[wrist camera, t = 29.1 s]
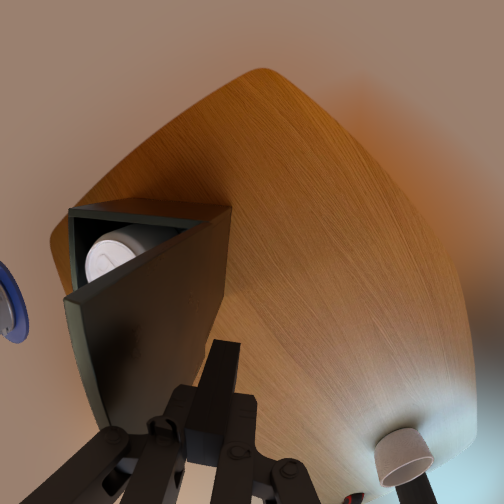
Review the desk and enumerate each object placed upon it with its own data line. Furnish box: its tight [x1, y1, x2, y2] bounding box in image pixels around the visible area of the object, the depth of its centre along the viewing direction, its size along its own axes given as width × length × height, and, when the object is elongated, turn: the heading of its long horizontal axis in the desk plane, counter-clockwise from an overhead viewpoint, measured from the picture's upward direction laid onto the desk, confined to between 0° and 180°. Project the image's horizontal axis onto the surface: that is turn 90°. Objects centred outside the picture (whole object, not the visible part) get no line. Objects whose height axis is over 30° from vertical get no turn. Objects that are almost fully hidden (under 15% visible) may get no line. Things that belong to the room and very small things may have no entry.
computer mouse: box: [343, 493, 364, 504], centre depth 52 cm, size 6×11×4 cm, turn 1°
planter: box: [374, 428, 434, 487], centre depth 40 cm, size 12×12×11 cm
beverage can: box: [85, 223, 179, 283], centre depth 30 cm, size 8×8×12 cm
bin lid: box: [63, 222, 213, 434], centre depth 15 cm, size 15×13×1 cm
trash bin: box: [68, 198, 232, 344], centre depth 30 cm, size 15×13×14 cm
